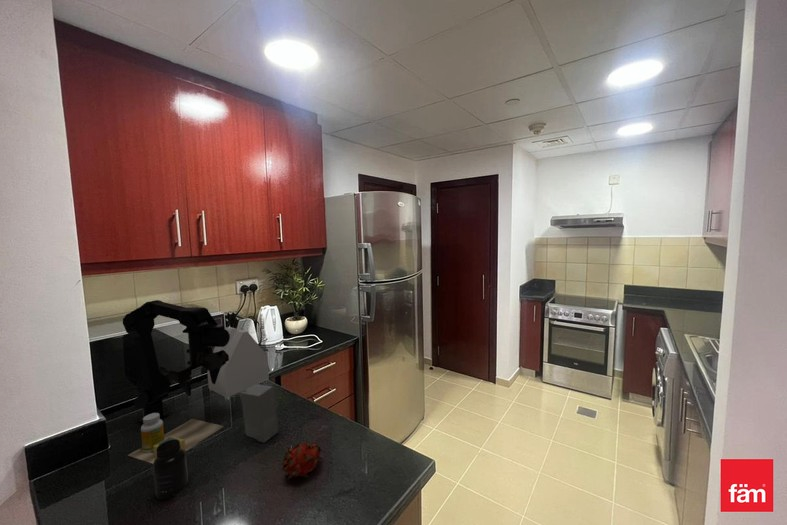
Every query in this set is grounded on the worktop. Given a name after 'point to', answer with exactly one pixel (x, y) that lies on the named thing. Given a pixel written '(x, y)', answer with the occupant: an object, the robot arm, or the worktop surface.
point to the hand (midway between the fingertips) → (202, 389)
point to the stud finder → (182, 441)
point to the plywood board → (183, 437)
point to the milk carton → (240, 364)
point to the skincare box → (259, 412)
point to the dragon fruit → (301, 460)
